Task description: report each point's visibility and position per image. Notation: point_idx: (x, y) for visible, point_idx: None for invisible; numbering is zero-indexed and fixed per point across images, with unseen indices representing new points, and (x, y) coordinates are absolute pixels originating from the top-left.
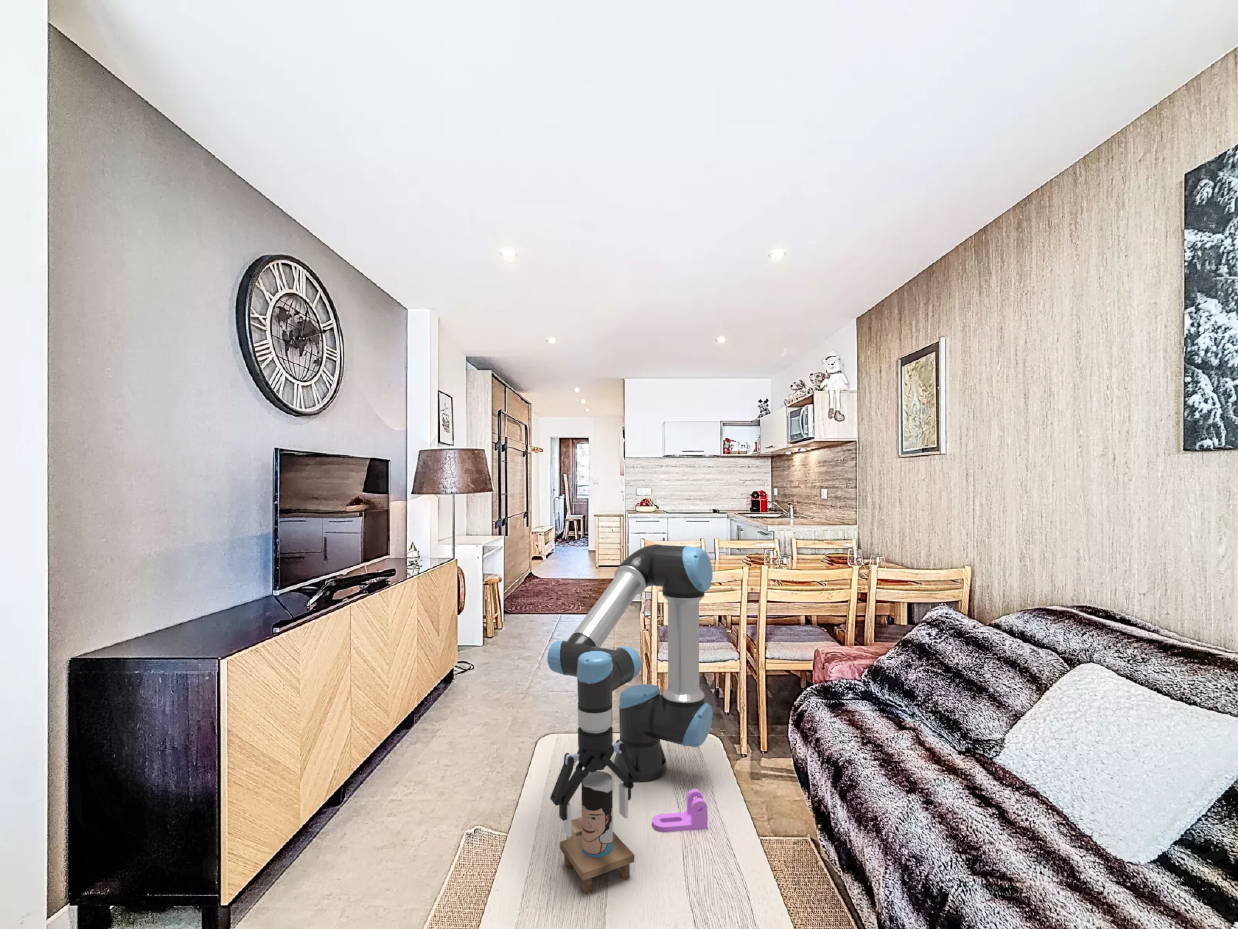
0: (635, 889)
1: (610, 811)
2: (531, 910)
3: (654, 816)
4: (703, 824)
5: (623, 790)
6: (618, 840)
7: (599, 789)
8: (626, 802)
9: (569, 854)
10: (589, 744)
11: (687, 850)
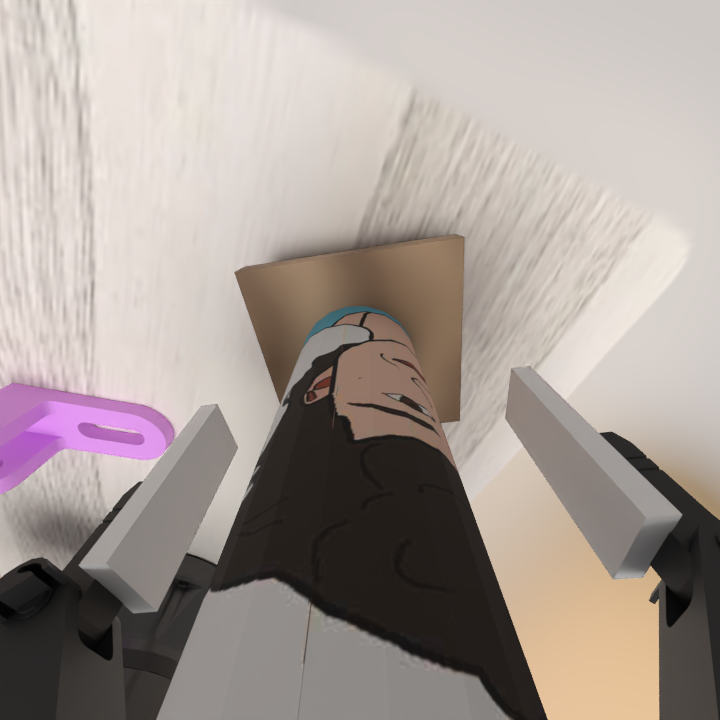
0: (271, 203)
1: (285, 421)
2: (600, 234)
3: (157, 456)
4: (12, 392)
5: (135, 553)
6: (276, 369)
7: (391, 672)
8: (163, 468)
9: (460, 357)
10: None
11: (77, 319)
